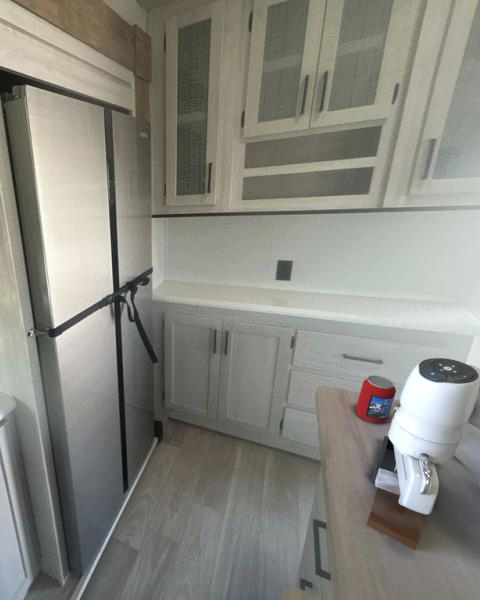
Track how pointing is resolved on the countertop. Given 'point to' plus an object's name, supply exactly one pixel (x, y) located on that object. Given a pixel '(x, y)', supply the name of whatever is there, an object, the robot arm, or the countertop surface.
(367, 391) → the beverage can
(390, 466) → the sink basin
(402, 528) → the tap plinth
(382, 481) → the white red-tipped brick
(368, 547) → the countertop surface
